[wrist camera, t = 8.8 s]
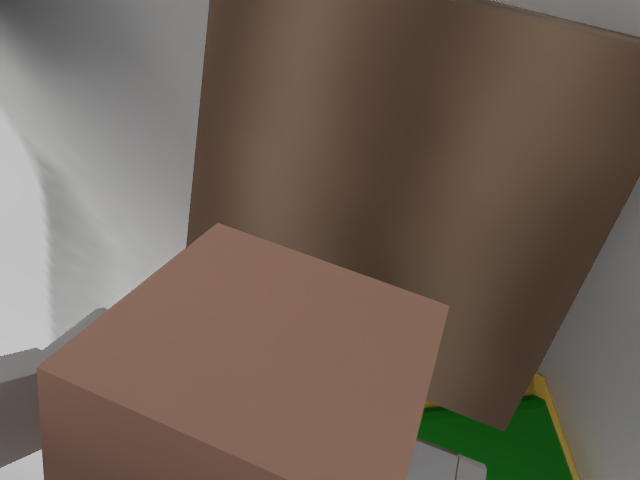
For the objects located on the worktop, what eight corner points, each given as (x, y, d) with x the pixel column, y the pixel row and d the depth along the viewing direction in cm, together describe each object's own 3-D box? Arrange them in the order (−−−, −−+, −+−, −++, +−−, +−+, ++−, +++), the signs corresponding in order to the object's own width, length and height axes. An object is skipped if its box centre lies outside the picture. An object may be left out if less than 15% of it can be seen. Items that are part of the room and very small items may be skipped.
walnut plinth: (224, 262, 27) (180, 305, 24) (267, -55, 20) (215, -59, 17) (507, 367, 25) (504, 431, 21) (666, 44, 18) (699, 62, 14)
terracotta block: (196, 394, 14) (51, 577, 10) (217, 222, 12) (36, 367, 7) (384, 474, 13) (312, 716, 9) (449, 305, 11) (393, 527, 6)
